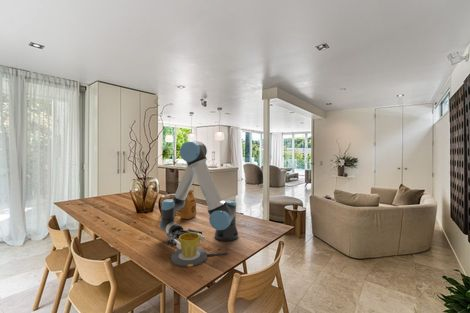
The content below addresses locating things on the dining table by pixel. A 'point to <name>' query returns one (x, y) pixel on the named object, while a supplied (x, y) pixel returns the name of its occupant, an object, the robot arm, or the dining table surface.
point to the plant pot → (189, 244)
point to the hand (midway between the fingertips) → (192, 242)
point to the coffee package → (189, 207)
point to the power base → (191, 258)
